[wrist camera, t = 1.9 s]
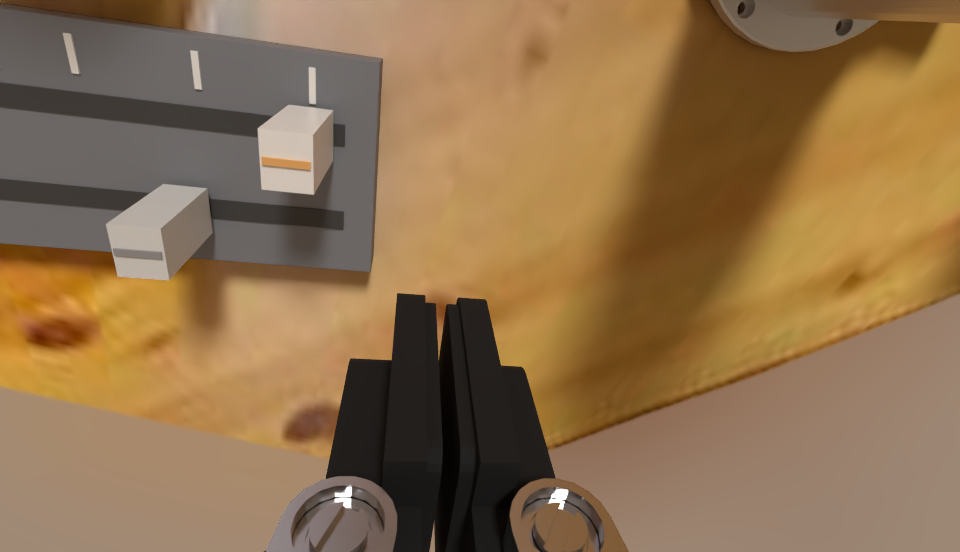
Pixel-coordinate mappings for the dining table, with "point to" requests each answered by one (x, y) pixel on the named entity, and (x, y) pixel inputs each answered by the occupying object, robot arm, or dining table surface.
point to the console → (178, 136)
